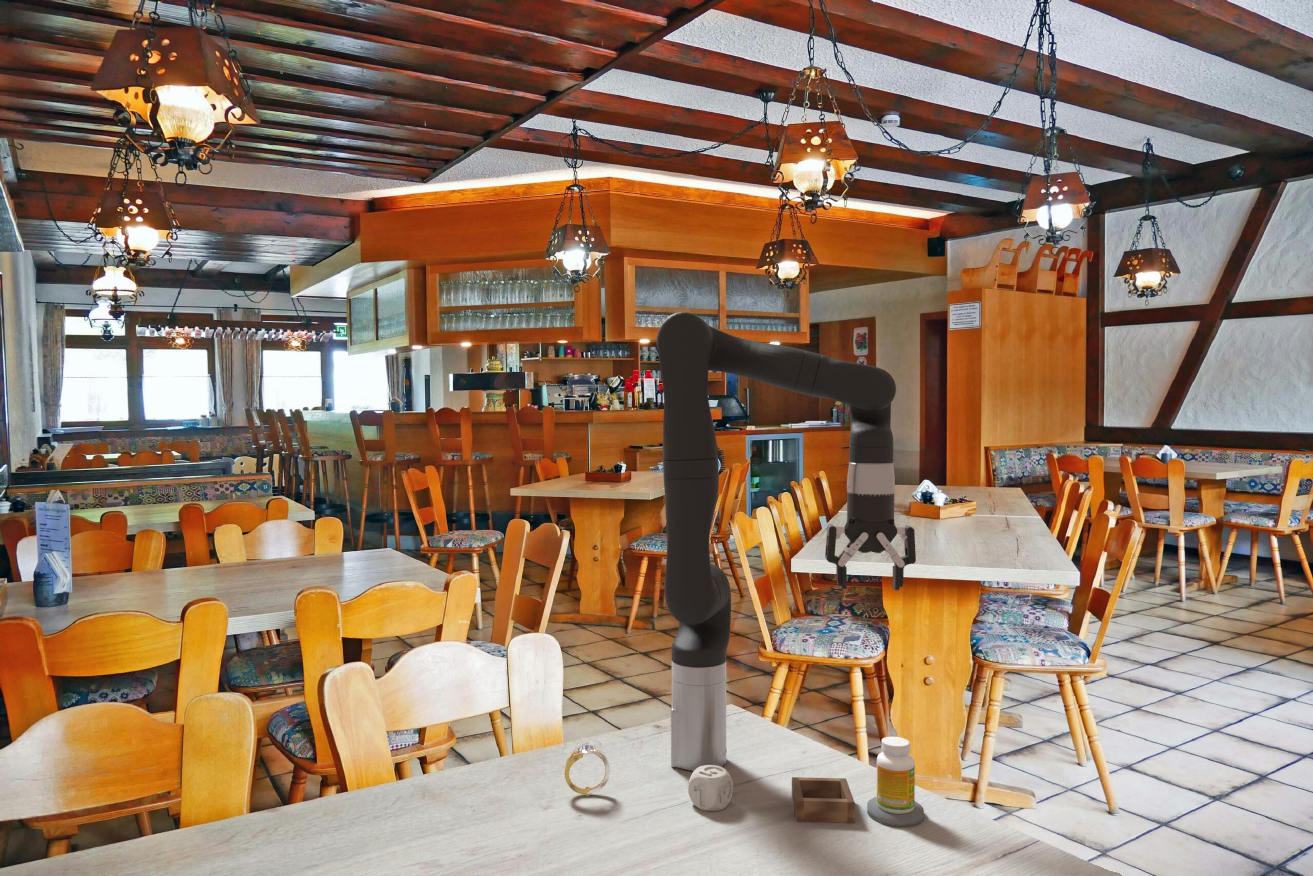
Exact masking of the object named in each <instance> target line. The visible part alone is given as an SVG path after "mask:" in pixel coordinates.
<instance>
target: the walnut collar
mask: <svg viewBox="0 0 1313 876" xmlns="http://www.w3.org/2000/svg"><path fill="white" fill-rule="evenodd" d="M851 791H852V790H851V789H850V786H849V783H848V781H847V778H844V777H843V778H842V777H840V778H839V777H806V776H805V777H803V776H802V777H798V776H796V777H794V776H793V777H791V799H792V805H793V809H794V814H795V818H796V822H810V823H811V822H813V823H814V822H815V823H817V822H818V823H849V824H850V823H851V824H853V823H855V821H856V820H855V812H856V811H855V808H856V807H855V800H854V796H853V794H852V792H851Z"/></svg>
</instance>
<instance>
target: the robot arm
mask: <svg viewBox="0 0 1313 876" xmlns="http://www.w3.org/2000/svg"><path fill="white" fill-rule="evenodd" d="M655 341H656V344H655V345H656V350H657V354H658V355H657V356H658V360H659V369H660V375H661V382H662V383H661V384H662V392H663V393H662V394H663V417H662V419H663V421H662V468H663V471H662V472H663V487H664V488H663V489H664V502H665V503H664V505H665V507H664V508H665V509H664V510H665V522H666V523H665V524H666V525H665V526H666V560H665V574H664V575H665V579H664V598H665V604H666V606H667V609H668V611H669V613H670V614H671V616H672V617H673V618H674V619H675V620H676V621H677V622H679V624H678V630H677V633H676V636H675V638H674V639H673V641H672V645H671V706H670V707H671V708H670V767H672V768H680V769H682V770H686V771H692V772H694V770H695V769H696V768H698V767H700V766H704V765H716V766H720V767H723V766H725V765H726V763H727V752H728V751H727V650H728V646H729V643H730V638H731V618H732V617H731V615H732V614H731V612H732V591H731V590H732V589H731V584H730V582H729V578H728V577H727V575H726V573H725V572H724V571H723V570H722V569H721V568H720V567H719V566H717V565H716V564H713V563H711V556H710V554H711V553H710V552H711V551H710V536H711V530H712V523H713V519H714V516H715V511H716V506H717V501H718V497H719V485H720V472H719V454H718V453H719V451H718V444H717V435H716V431H715V425H714V421H713V420H714V419H713V416H712V412H711V407H710V401H709V387H708V385H709V371H711V372H719V373H725V374H731V375H735V376H741V377H745V378H747V379H750V380H755V381H757V382H761V383H764V384H768V385H771V386H773V387H776V388H779V389H783V390H786V391H791V392H794V393H797V394H802V395H805V396H809V397H814V398H818V399H829V400H833V401H836V402H839V403H842V404H845V405H848V407H849V411H848V412H849V423H850V433H849V442H848V443H849V444H848V445H849V446H848V447H849V451H848V458H849V459H848V468H847V469H848V471H847V478H846V482H847V483H846V494H847V495H846V497H847V499H846V501H847V502H846V523H845V524H844V526H842V525H841V526H839V525H834V524H831V523H830V524H828V525H827V528H826V541H825V552H824V554H825V555H824V557H825V560H826V561H827V562H828V563H830V564H831V563H832V564H834V565H835V566H836V570H835V571H836V573H835V574H836V575H835V576H836V577H835V578H836V579H835V580H836V584H837V585H838V587H839V588H840V589H841V590H847V575H848V574H847V570H848V569H847V566H846V564H847V563H849V561H850V559H851V558H853V557H854V556H855V554H856V553H857V551H858V552H860V553H862V554H867V553H871V552H872V553H875V554H882V553H883V552H885V553H886V554H887V555H888V556H889V557H890V560H891V561H892V562H893V563H894V564H893V565H892V585H891V586H892V589H893V590H894V591H900V588H902V587H903V586H904V577H905V576H904V572H905V571H904V569H905V568H906V566H908V565H913V564H916V562H917V556H916V537H915V536H916V535H915V534H916V532H915V528H913V526H911V525H905V526H896V524H895V492H896V491H895V490H896V489H895V487H896V485H895V482H896V479H895V469H894V435H893V431H892V428H891V424H892V423H891V418H892V402H893V401H894V399H895V397H896V393H897V385H896V381H895V379H894V378H893V375H892V374H890V373H889V372H888V371H887V370H885V369H883V368H881V367H877V366H874V365H868V364H863V363H859V362H852V361H848V360H847V361H846V360H840V359H836V358H834V357H831V356H828V355H826V354H825V355H824V354H821V353H817V352H812V351H809V350H805V349H800V348H798V347H797V348H796V347H791V346H786V345H780V344H775V343H773V344H772V343H766V342H760V341H755V340H750V339H745V338H742V337H739V336H737V335H736V336H735V335H732V334H729V333H727V332H724V331H722V330H719V329H718V328H715V327H713V326H711V325H709V324H708V323H707V322H706V321H705V320H704V319H702V318H701V317H700V316H698V315H697V314H694V313H692V312H688V311H678V312H675V313H673V314H671V315H669V316H667V317H666V319H664V320H663V322H662V323H661V325H660V326H659V328H658V331H657V334H656V340H655ZM842 534H845V537H846V538H847V539H848V542H847V544H846V545H845V546H844V548H843V550H842V551H841V553H839V554H838V555H835V554H836V544H837V543H836V541H837V540H839V539H840V538H841V536H842ZM897 535H899V537H900V539H901V540H903V542H904V556H900V555H899V552H898V551H897V550H896V549H895V548H894V546H893V545H892V542H893V540H894V539H896V536H897Z"/></svg>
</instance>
